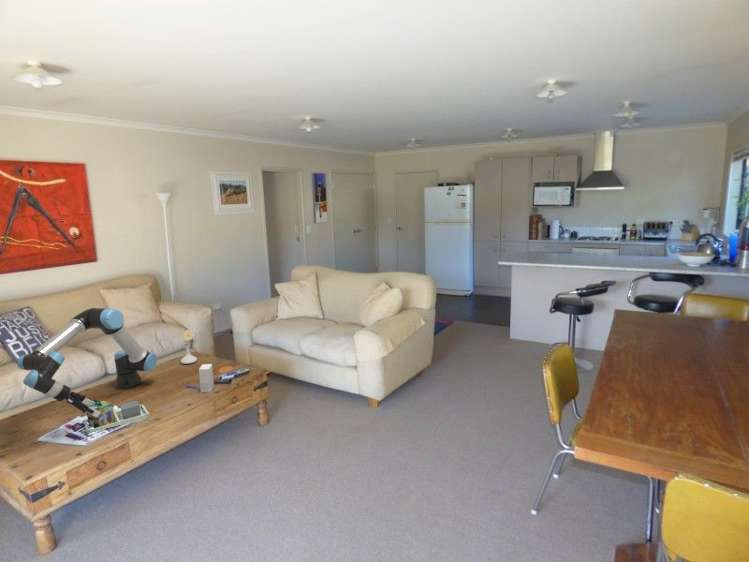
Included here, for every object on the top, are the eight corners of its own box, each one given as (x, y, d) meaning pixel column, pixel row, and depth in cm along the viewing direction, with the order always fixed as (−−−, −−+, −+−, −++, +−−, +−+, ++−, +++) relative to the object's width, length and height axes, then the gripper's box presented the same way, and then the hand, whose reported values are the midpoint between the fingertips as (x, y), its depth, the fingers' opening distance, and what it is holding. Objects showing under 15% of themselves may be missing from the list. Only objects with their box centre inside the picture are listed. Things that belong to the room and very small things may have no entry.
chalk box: (116, 422, 246) (112, 396, 243) (99, 430, 238) (95, 404, 235) (104, 419, 250) (101, 394, 247) (88, 427, 241) (84, 401, 239)
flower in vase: (177, 364, 332) (173, 331, 328) (188, 359, 343) (184, 326, 338) (191, 366, 328) (188, 332, 323) (202, 360, 338) (199, 328, 334)
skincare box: (204, 387, 290) (201, 364, 288) (215, 386, 291) (212, 363, 288) (200, 393, 282) (198, 369, 279) (211, 392, 283) (209, 368, 280)
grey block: (124, 421, 246) (123, 409, 245) (122, 416, 253) (120, 404, 251) (141, 417, 251) (139, 405, 250) (138, 411, 257) (136, 400, 256)
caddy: (87, 436, 233) (87, 431, 233) (84, 425, 245) (83, 420, 245) (149, 418, 251) (149, 413, 250) (143, 409, 262) (143, 404, 262)
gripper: (50, 389, 238) (88, 408, 249) (54, 406, 218) (95, 425, 230) (61, 377, 240) (98, 396, 252) (66, 392, 220) (105, 412, 232)
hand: (96, 410), depth 241 cm, fingers open, 13 cm apart
